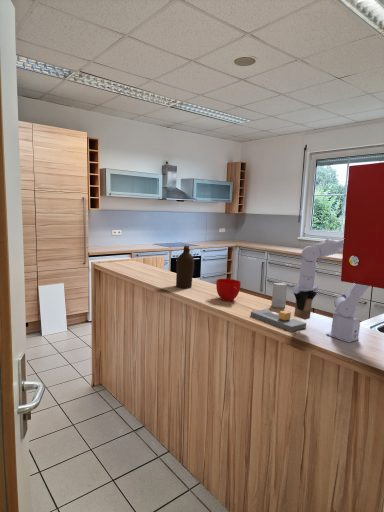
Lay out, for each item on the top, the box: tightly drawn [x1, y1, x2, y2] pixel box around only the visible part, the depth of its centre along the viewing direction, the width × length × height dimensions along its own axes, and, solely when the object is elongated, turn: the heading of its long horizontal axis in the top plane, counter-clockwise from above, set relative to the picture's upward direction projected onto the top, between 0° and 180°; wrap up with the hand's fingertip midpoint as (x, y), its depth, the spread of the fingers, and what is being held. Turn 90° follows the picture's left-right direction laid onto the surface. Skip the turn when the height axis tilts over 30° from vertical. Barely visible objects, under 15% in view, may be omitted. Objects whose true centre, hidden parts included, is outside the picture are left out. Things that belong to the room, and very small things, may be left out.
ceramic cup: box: [215, 278, 242, 302], centre depth 174 cm, size 13×17×10 cm
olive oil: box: [175, 245, 195, 289], centre depth 198 cm, size 11×11×25 cm
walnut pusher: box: [293, 298, 313, 320], centre depth 133 cm, size 5×4×8 cm
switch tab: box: [278, 310, 292, 320], centre depth 140 cm, size 3×4×3 cm
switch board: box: [250, 308, 307, 332], centre depth 144 cm, size 22×10×2 cm, turn 37°
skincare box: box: [271, 282, 288, 309], centre depth 168 cm, size 6×4×12 cm
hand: (303, 309), depth 133 cm, fingers closed on walnut pusher, 3 cm apart
